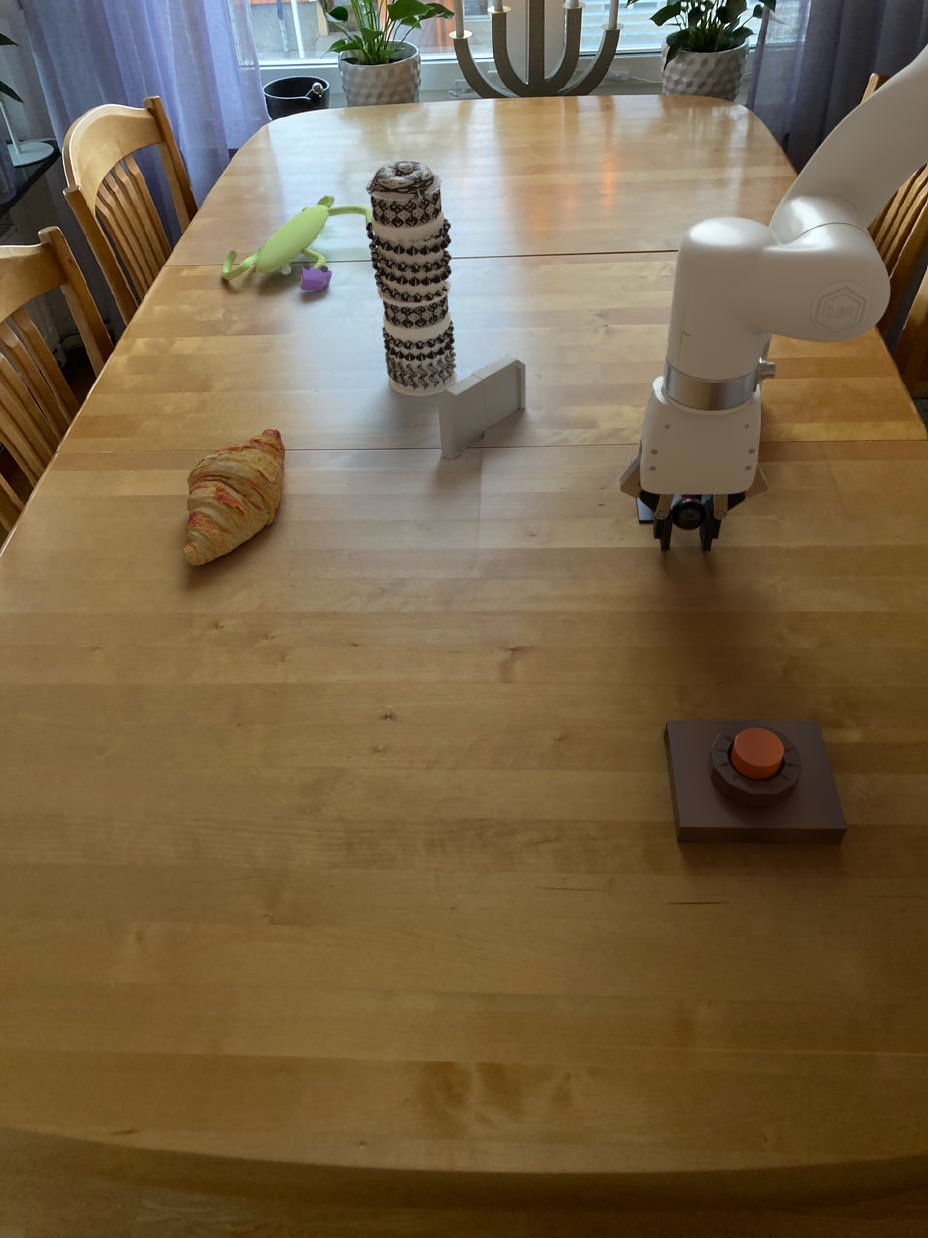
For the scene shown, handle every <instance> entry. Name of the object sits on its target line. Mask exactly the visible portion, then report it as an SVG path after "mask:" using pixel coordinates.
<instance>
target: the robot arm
mask: <svg viewBox="0 0 928 1238" xmlns="http://www.w3.org/2000/svg"><path fill="white" fill-rule="evenodd" d="M927 164H928V43H927V44H926V45H925V47H924V48H923V49H922V50H921V52H920V53H918V55H917V56H916V57H915V58H914V59H913V60H912V61H911V62H910V63H909V64H908V65H907V66H905V67H904V68H903V69H901V70H900V71H898V72H897V73H896V74H894V75H893V76H891V77H890V78H889V79H888V80H887V81H886V82H884V83H883V84H881V86H880V87H878V89H876V90H874V92H873V93H872V94H871V95H869V96H868V97H867V98H866V99H865V100H863V101H861V102H860V103H859V104H858V105H857V106H856V107H854V109H852V111H850V112H849V113H848V114H847V115H846V116H845V117H844V118H843V119H842V120H841V121H840V122H839V123H838V124H837V125H836V126H835V127H834V128H833V130H832V131H831V132H830V133H829V134H828V135H827V136H826V138H825V139H824V140H823V142H822V143H821V144H820V146H818V148H817V149H816V150H815V152H813V154H812V156H811V158H809V160H808V162H807V163H806V165H804V167H803V169H802V170H801V171H800V173H799V174H798V176H797V177H796V179H795V180H794V181H793V183H791V185H790V187H789V188H788V189H787V191H786V193H785V194H784V195H783V197H782V199H781V201H780V202H779V204H778V205H777V207H776V209H775V211H774V213H773V215H772V216H771V219H770V221H769V225H768V226H767V225H765V224H763V223H761V222H759V221H757V220H753V219H750V218H749V219H748V218H744V217H738V216H720V217H711V218H707V219H704V220H702V221H699V222H697V223H696V224H694V225H692V226H691V227H689V228H688V229H687V230H686V232H685V233H684V234H683V236H682V237H681V239H680V241H679V244H678V248H677V254H676V260H675V261H676V262H675V271H674V279H673V287H672V288H673V289H672V295H671V297H672V298H671V306H670V314H669V323H668V331H667V340H666V342H667V343H666V349H665V351H666V352H665V357H664V367H663V374H662V375H661V376H657V378H656V379H655V380H654V381H653V383H652V385H651V388H650V391H649V394H648V397H647V401H646V404H645V408H644V412H643V418H642V422H641V428H640V433H639V440H638V447H637V454H636V455H637V456H636V458H635V459H634V461H633V463H632V464H631V463H630V465H629V466H628V467H627V469H626V470H625V471H624V472H623V474H621V476H620V478H619V480H618V481H619V490H620V491H621V493H624V494H626V495H628V496H630V497H632V498H635V499H636V497H637V498H639V499H640V501H641V502H642V503H643V504H645V505H646V506H647V507H648V508H649V509H651V510H652V511H653V512H654V513H655V517H654V523H653V525H652V526H653V527H652V529H653V530H652V531H653V532H652V533H653V540H659V544H660V552H663V553H664V552H665V553H666V552H668V551H670V548H671V547H670V546H671V539H672V538H671V537H672V533H673V526H674V523H673V517H672V510H671V504H672V501H673V497H674V494H710V499H706V503H704V504H703V505H704V507H705V511H706V516H705V520H704V522H703V523H702V525H701V526H700V527H698V528H699V529H698V533H699V540H700V546H701V551H703V552H705V553H707V552H708V553H709V552H711V550H712V544H713V540H718V539H719V535H720V529H721V525H722V520H723V519H725V518H727V515H728V512H729V511H731V510H732V509H734V508H735V507H737V506H739V505H740V504H741V503H742V502H744V501H745V500H746V499H747V498H751V497H754V496H757V495H759V494H762V493H764V492H766V491H767V490H768V488H769V485H768V481H767V478H766V475H765V473H764V472H763V470H762V467H761V466H760V464H759V461H758V458H759V448H760V438H761V427H762V426H761V425H762V397H761V393H760V385H759V382H760V380H763V381H765V380H766V379H774V378H775V376H776V368H777V365H776V362H775V361H767V362H766V360H761V357H760V356H761V351H762V345H763V340H764V335H765V333H770V334H772V335H776V336H780V337H786V338H791V339H795V340H800V341H806V342H813V343H820V344H821V343H822V344H823V343H824V344H826V343H827V344H828V343H842V342H847V341H850V340H852V339H853V340H854V339H856V338H858V337H860V336H862V335H864V334H866V333H867V332H869V331H870V330H871V329H872V328H874V327H875V326H876V325H877V324H878V323H879V321H880V320H881V319H882V318H883V316H884V314H885V312H886V310H887V308H888V305H889V303H890V299H891V298H890V297H891V281H890V277H889V273H888V270H887V266H886V265H885V263H884V261H883V259H882V257H881V255H880V253H879V251H878V249H877V246H876V244H875V242H874V240H873V237H872V236H871V234H870V231H869V230H868V228H869V227H870V226H871V224H872V223H873V222H874V220H875V219H876V218H877V217H878V215H879V214H880V213H881V212H882V211H883V209H884V207H886V205H887V204H888V203H889V201H890V200H891V199H892V198H893V197H894V195H895V194H896V193H897V192H898V191H899V190H900V189H901V188H902V186H904V184H905V183H906V182H908V181H909V179H910V178H912V177H913V175H914V174H915V173H917V172H918V171H919V170H920V169H921V168H923V167H924V166H925V165H927Z"/></svg>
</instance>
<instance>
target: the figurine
mask: <svg viewBox="0 0 928 1238" xmlns="http://www.w3.org/2000/svg"><path fill="white" fill-rule="evenodd" d="M335 199H336V198H335V196H333V195H324V196H323V197H321V198H320V199H319V200H318V202H317V204H316V205H314V206H305V207H303V208H302V209H301V212H299V213H297V214H296V215H294V216H293V217H291V218H290V219H289V220H287V221H286V222H285V223H284V224H283V225H281V226H280V227H279V228H278V229H277V230H276V231H275V232H274V233H273V234H272V235H271V236H270V237H269V238H268V240H267V241H266V242H265V244H263V245H262V246H261V247H260V248H259V249H257V251H256V252H255V253H253V254H252V255H250V256H248V257H246V258H245V259H244V260H243V261H242V262H241V263H239V264H238V265H237V266H236V267H234V268H233V266H234V263H235V261H236V259H237V257H238V253H237V251H235V250H230V251H229V253H228V255H227V257H226V259H225V261H224V263H223V265H222V268H221V273H220V274H221V277H222V278H223V279H224V280H226V281H232V280H233V279H236V278H238V277H240V276H242V275H243V274H244V273H246V271H248V270H249V269H250V268H251V267H252V266H253V264H254V263H255V271H256V272H257V273H259V274H269V273H274V272H275V271H278V270H279V272H280V273H281V274H282V275H284V276H290V273H291V271H292V261H294V260H295V259H296V258H298V257H299V256H300V255H302V256H304V257H306V258H307V259H308V258H309V259H311V260H314V261H317V262H316V264H314V266H312V267H311V264H310V263H308V262H304V263H303V265H302V267H301V270H300V274H299V275H298V279H299V284H300V289H301V291H312V292H313V291H314V292H322V291H323V289H324V287H329V285H330V282H331V279H332V275H333V271H332V270H329V267H328V266H326V263H327V262H326V261H327V260H326V257H325V256H324V255H322V254H320V253H319V252H316V251H313V250H311V249H310V248H309V247H310V245H311V244H312V243H313V242H314V241H315V240H316V239H317V238H318V236H319V235H320V233H321V232H322V230H323V229H324V227H325V226H326V223H327V220H328V218H329V217H335V216H341V215H361V216H364V217H365V226H366V225H367V224H368V223H370V222H372V221H371V214H372V211H373V210H371V208H369V207H366V206H362V205H353V204H352V205H341V206H334V203H335ZM332 206H334V207H332ZM373 232H374V230H373Z"/></svg>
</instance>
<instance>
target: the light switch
mask: <svg viewBox="0 0 928 1238" xmlns="http://www.w3.org/2000/svg"><path fill="white" fill-rule="evenodd" d="M526 389H527V388H526V364H525V363H523V362H522V361H521V360H519V359H518V358H516V357H514V356H511V355H510V354H507V353H506V354H504V355H502V356H501V357H499V358H497V359H496V360H494V361H492V362H490V363H489V364H487V365H485V366H484V367H481V368H479V369H477V370H476V371H474V372H472V373H471V374H470V375H468V376H467V377H465V378H463V379H460V381H458V382H455V383H454V384H453V385H452V386H451V387H449V388H448V389H446V390H445V391H443V394H442V396H441V397H440V400H439V402H438V403H437V413H438V424H439V435H440V437H439V438H440V447H441V456H444V457H445V458H447V459H449V460H450V461H454V460H456V459H457V458H459V457H460V456H461V452H462V451H464V450H465V449H466V448H468V447H470V446H471V445H474V443H476V442H478V441H480V440H481V439H484V438H485V430H486V429H488V428H490V427H491V426H493V425H494V424H496V423H498V422H499V421H502V420H503V419H504V418H506V417H508V416H509V415H510V414H512V413H514V412H515V411H517V410H524V409H526V407H527V406H526V405H527V403H526V400H527V399H526V397H527V395H526V393H527V392H526Z"/></svg>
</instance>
